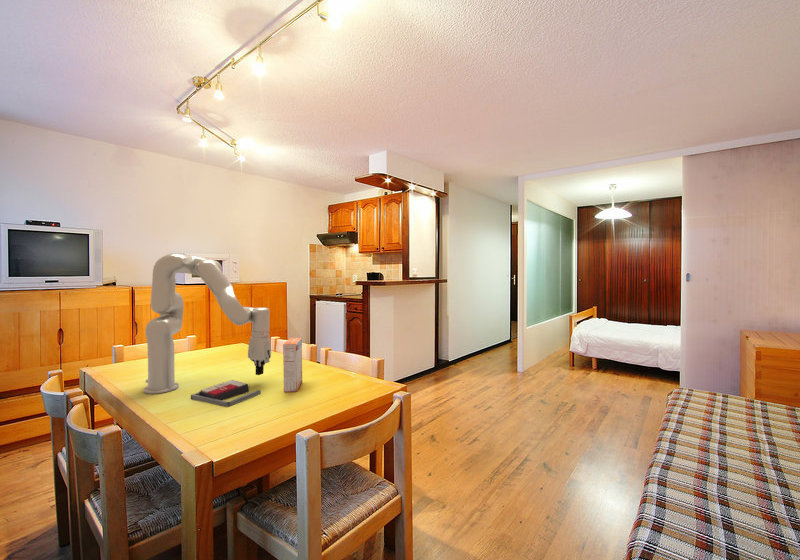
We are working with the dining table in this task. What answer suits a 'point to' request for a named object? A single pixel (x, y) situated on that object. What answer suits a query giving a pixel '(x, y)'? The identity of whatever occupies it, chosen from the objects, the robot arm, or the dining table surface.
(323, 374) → the dining table surface
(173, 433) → the dining table surface
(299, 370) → the cracker box
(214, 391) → the black flat box
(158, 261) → the robot arm
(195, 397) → the frame
